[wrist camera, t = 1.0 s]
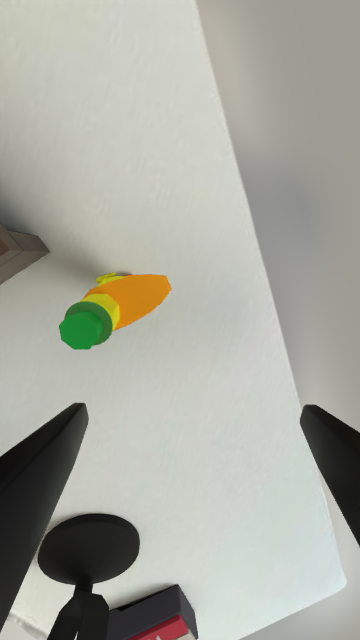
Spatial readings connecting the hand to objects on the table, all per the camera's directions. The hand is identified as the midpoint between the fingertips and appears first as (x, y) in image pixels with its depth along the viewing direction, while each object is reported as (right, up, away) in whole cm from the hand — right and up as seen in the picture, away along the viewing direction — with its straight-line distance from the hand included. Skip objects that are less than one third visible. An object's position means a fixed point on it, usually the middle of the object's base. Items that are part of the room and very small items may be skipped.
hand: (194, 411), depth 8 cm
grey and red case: (-6, -49, +29) cm, 57 cm away
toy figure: (-6, +7, +11) cm, 15 cm away
